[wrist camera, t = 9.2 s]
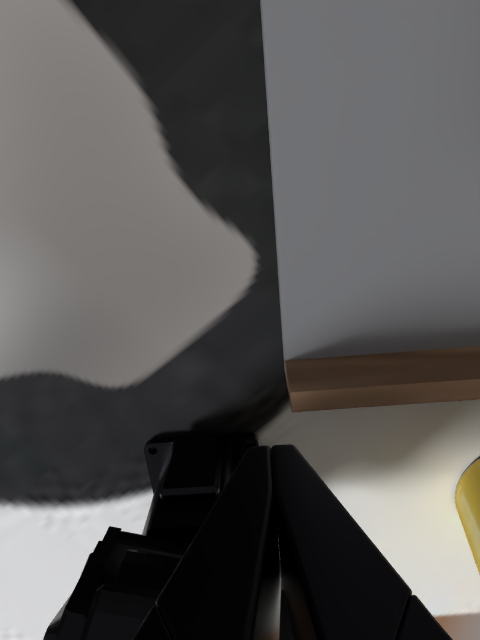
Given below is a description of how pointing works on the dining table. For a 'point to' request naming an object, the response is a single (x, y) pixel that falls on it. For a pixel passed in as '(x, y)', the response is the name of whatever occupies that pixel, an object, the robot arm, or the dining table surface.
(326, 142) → the bay
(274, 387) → the dining table surface
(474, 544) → the plant pot
